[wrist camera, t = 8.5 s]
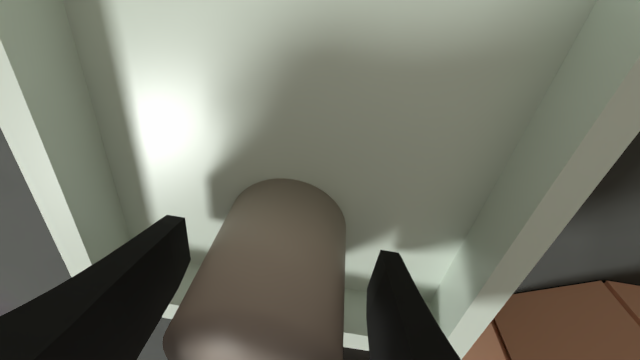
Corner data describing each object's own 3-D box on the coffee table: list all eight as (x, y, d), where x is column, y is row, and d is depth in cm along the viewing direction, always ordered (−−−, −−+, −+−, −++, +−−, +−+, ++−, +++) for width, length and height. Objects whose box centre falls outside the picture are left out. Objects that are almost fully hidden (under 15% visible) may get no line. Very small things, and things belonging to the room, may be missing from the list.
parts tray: (439, 299, 15) (456, 365, 12) (130, 249, 15) (84, 304, 12) (729, -204, 6) (1004, -338, 3) (-40, -336, 6) (-330, -569, 3)
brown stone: (335, 273, 13) (327, 415, 9) (232, 257, 13) (174, 390, 9) (356, 189, 10) (359, 328, 6) (229, 168, 10) (148, 294, 6)
